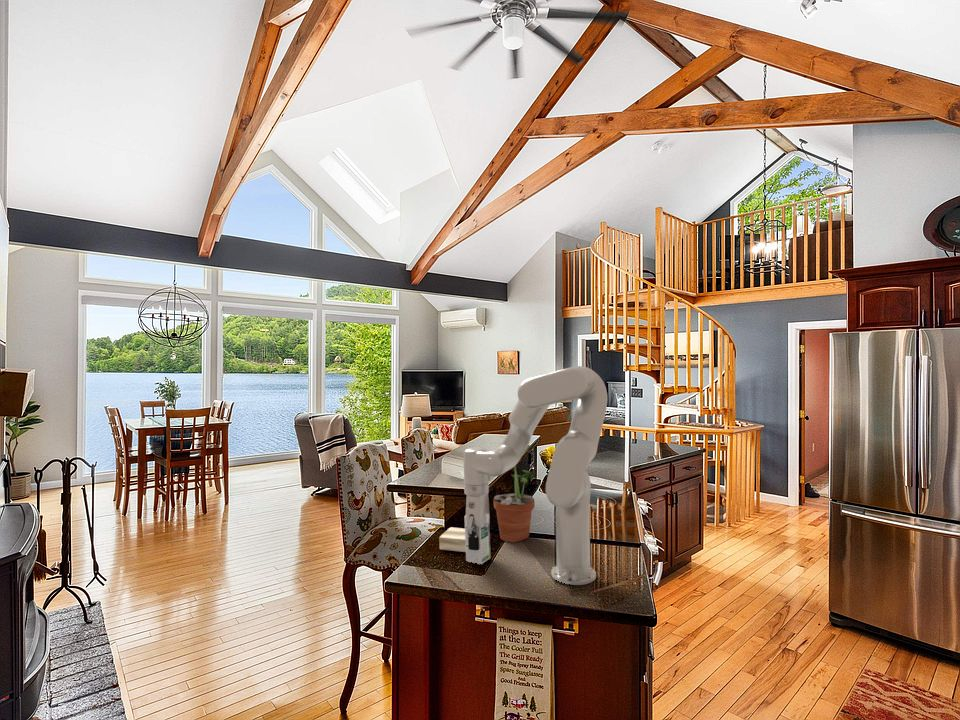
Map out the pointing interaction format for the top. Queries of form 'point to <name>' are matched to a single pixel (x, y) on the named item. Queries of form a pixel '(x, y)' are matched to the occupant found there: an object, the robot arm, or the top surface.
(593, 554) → the top surface
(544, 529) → the top surface
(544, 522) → the top surface
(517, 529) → the potted plant
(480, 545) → the syrup box
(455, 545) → the birch block
